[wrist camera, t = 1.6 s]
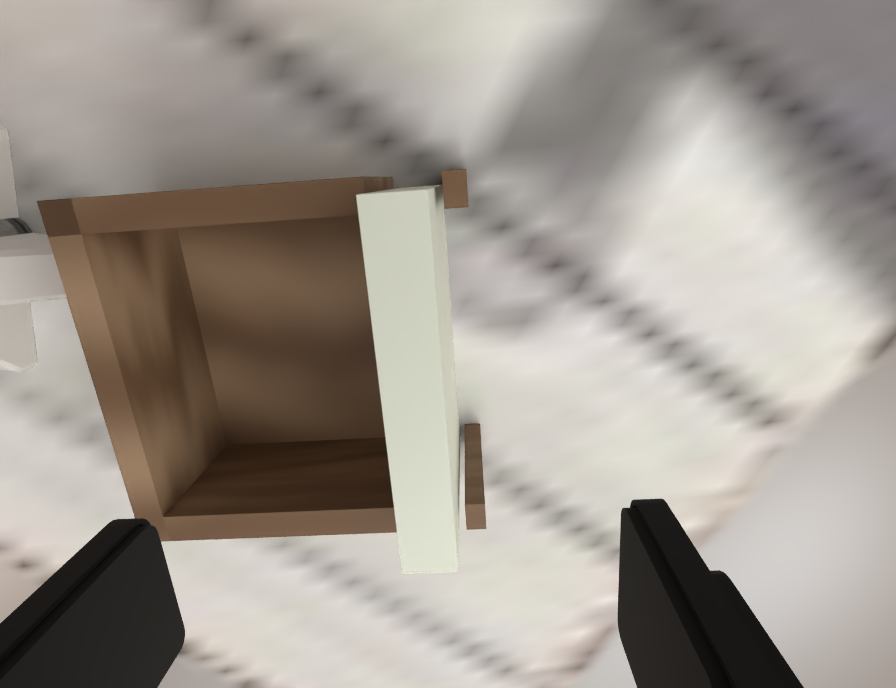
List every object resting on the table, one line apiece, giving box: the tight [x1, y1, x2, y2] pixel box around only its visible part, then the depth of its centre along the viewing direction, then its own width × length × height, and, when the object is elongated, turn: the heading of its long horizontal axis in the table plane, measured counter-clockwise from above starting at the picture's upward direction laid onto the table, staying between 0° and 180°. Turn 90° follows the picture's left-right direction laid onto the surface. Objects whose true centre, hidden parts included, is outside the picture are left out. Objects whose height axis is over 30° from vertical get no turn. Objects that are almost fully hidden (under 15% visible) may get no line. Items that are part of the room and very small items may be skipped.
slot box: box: [37, 169, 486, 541], centre depth 22 cm, size 14×15×7 cm
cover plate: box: [356, 185, 460, 574], centre depth 21 cm, size 13×2×10 cm, turn 4°
